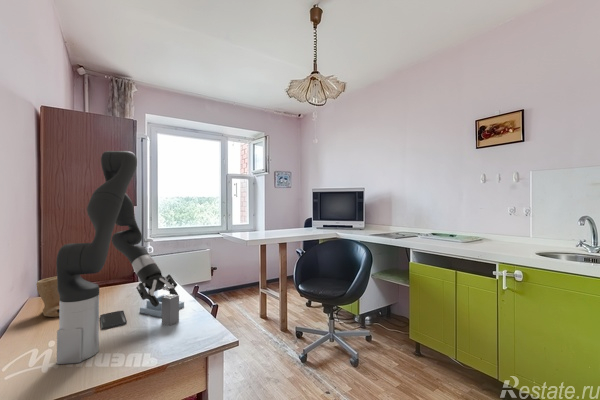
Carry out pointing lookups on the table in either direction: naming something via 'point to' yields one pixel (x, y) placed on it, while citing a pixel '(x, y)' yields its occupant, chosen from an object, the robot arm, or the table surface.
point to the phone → (112, 319)
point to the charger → (170, 309)
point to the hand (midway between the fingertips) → (167, 301)
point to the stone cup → (49, 296)
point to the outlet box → (156, 310)
